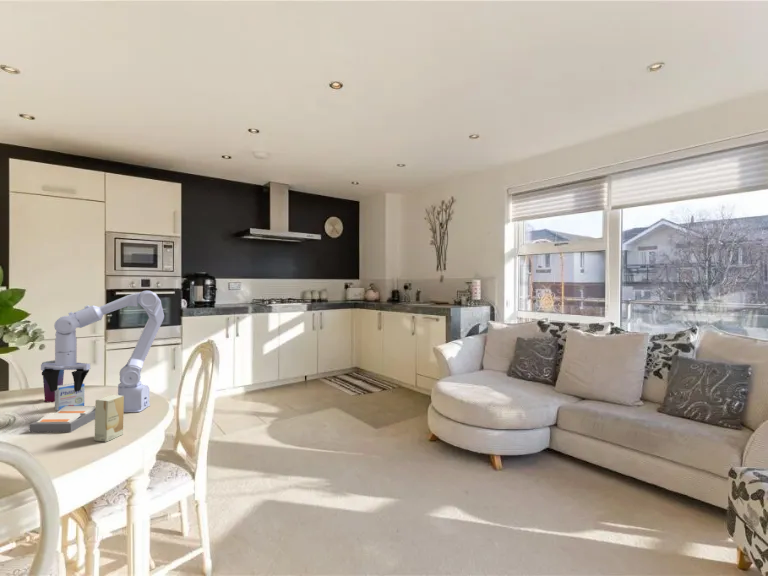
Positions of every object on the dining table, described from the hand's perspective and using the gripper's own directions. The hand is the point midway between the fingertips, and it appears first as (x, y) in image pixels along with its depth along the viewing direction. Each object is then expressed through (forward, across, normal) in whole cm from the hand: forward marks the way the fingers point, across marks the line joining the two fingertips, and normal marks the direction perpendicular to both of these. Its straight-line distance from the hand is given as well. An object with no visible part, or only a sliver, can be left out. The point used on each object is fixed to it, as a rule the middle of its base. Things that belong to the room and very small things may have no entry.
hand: (65, 390), depth 133 cm
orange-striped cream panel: (+7, +4, -1) cm, 8 cm away
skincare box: (+10, +24, -17) cm, 31 cm away
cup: (+10, -18, +20) cm, 29 cm away
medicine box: (+10, -6, +11) cm, 16 cm away
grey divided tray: (+9, +4, -5) cm, 11 cm away
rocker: (+7, +4, -9) cm, 12 cm away
